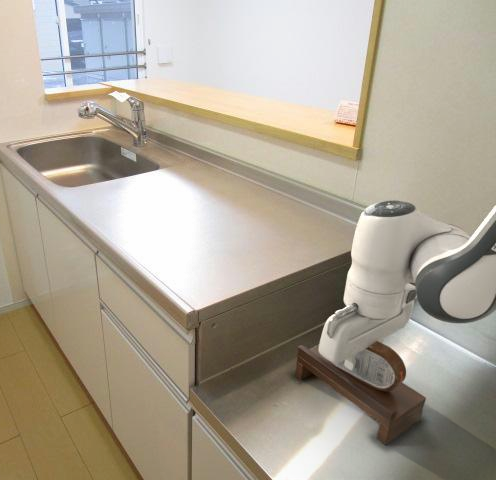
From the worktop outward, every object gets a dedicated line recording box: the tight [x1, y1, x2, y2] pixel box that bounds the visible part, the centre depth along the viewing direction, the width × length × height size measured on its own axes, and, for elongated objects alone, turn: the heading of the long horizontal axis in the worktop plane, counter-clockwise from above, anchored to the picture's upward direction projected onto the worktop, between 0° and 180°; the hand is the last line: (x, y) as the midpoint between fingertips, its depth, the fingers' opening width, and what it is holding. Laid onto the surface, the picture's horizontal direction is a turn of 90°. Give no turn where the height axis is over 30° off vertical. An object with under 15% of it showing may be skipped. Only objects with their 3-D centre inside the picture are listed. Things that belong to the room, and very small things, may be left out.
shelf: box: [294, 344, 427, 446], centre depth 83 cm, size 10×20×7 cm, turn 32°
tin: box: [329, 341, 407, 391], centre depth 80 cm, size 15×3×8 cm, turn 41°
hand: (359, 362), depth 81 cm, fingers open, 4 cm apart
